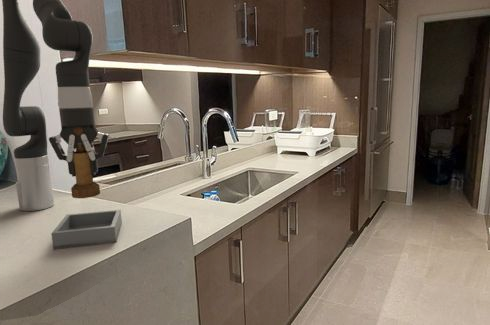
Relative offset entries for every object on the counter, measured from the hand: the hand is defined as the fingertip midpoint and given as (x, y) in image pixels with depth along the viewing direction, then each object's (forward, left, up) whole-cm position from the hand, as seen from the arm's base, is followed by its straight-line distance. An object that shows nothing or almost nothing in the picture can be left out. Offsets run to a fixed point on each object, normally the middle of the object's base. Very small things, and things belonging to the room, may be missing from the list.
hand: (84, 174), depth 87 cm
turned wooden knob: (0, 0, -5) cm, 5 cm away
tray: (0, 0, -16) cm, 16 cm away
